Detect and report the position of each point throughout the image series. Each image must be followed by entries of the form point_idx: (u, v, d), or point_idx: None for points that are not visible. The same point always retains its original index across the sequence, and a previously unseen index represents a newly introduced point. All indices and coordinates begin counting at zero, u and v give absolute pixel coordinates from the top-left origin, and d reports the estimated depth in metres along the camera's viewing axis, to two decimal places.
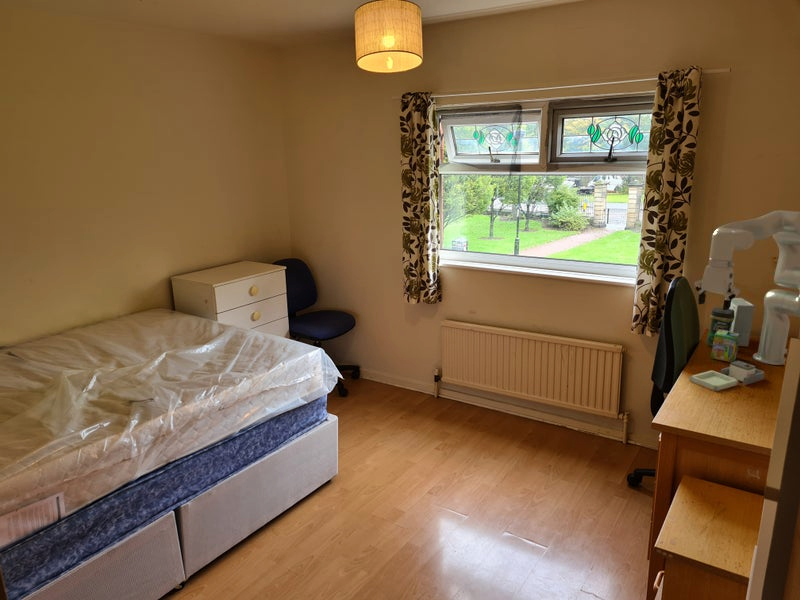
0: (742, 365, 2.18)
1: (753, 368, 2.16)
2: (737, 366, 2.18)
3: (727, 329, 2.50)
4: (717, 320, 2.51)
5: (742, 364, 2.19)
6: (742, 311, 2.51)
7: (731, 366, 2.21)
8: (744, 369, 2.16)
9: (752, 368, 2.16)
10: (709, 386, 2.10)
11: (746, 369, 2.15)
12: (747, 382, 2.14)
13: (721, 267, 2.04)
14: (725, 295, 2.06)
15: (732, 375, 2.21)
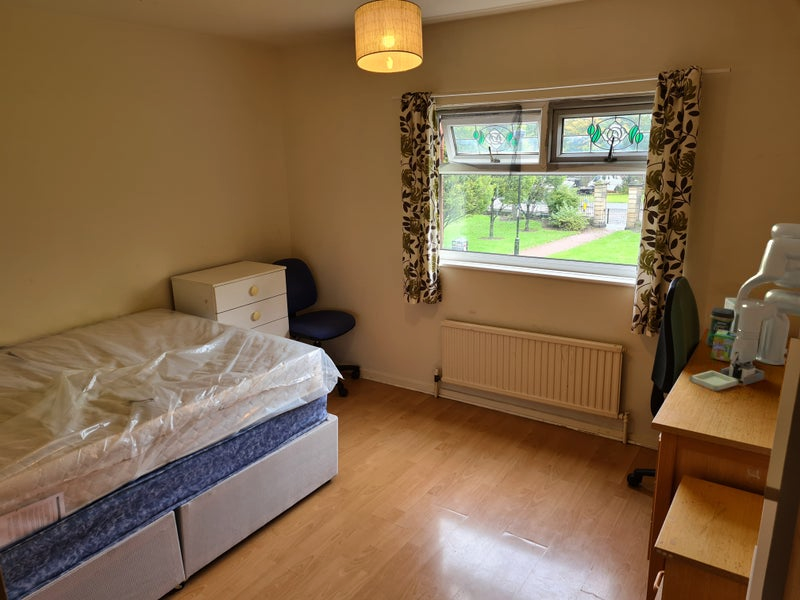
0: (742, 365, 2.18)
1: (753, 368, 2.16)
2: None
3: (727, 329, 2.50)
4: (717, 320, 2.51)
5: None
6: None
7: (731, 366, 2.20)
8: (744, 369, 2.16)
9: (752, 368, 2.16)
10: (709, 386, 2.10)
11: (746, 369, 2.15)
12: (747, 382, 2.14)
13: (758, 337, 2.14)
14: (751, 362, 2.19)
15: None
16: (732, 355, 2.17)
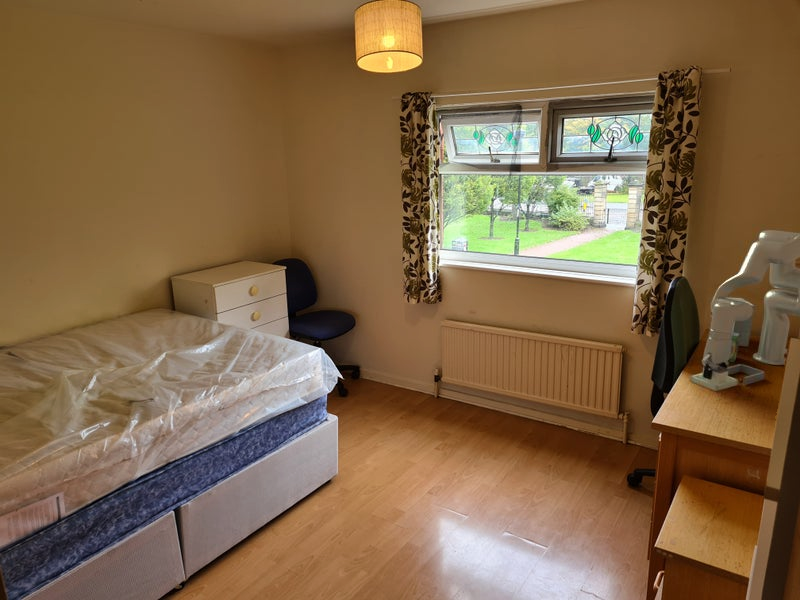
0: (715, 368, 2.13)
1: (726, 371, 2.12)
2: None
3: None
4: None
5: (715, 367, 2.14)
6: None
7: None
8: (717, 372, 2.12)
9: (725, 371, 2.12)
10: (709, 386, 2.10)
11: (719, 372, 2.11)
12: (747, 382, 2.14)
13: (731, 337, 2.09)
14: (726, 361, 2.14)
15: (705, 378, 2.16)
16: (705, 356, 2.12)
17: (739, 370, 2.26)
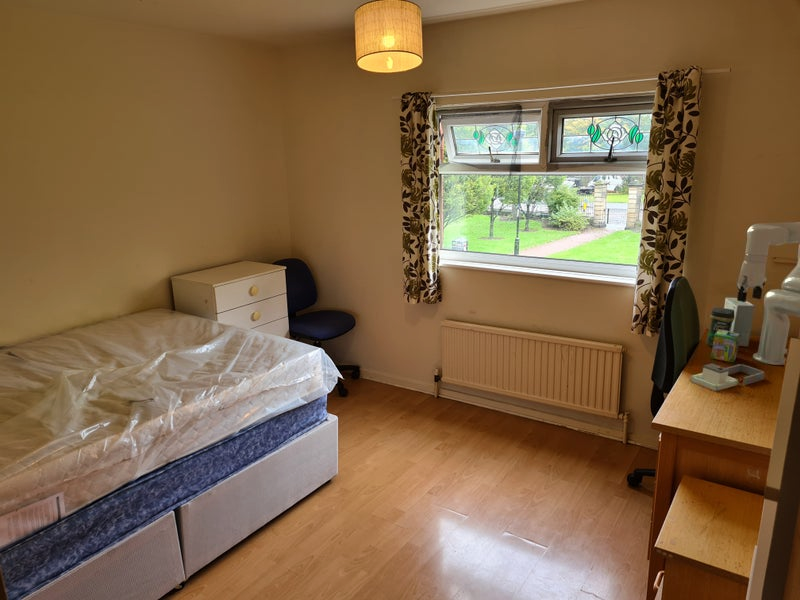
0: (715, 368, 2.13)
1: (726, 371, 2.12)
2: (710, 369, 2.14)
3: (727, 329, 2.50)
4: (717, 320, 2.51)
5: (715, 367, 2.14)
6: (742, 311, 2.51)
7: (704, 369, 2.16)
8: (717, 372, 2.12)
9: (725, 371, 2.12)
10: (709, 386, 2.10)
11: (719, 372, 2.11)
12: (747, 382, 2.14)
13: None
14: (761, 285, 2.21)
15: (705, 378, 2.16)
16: (740, 280, 2.18)
17: (739, 370, 2.26)
